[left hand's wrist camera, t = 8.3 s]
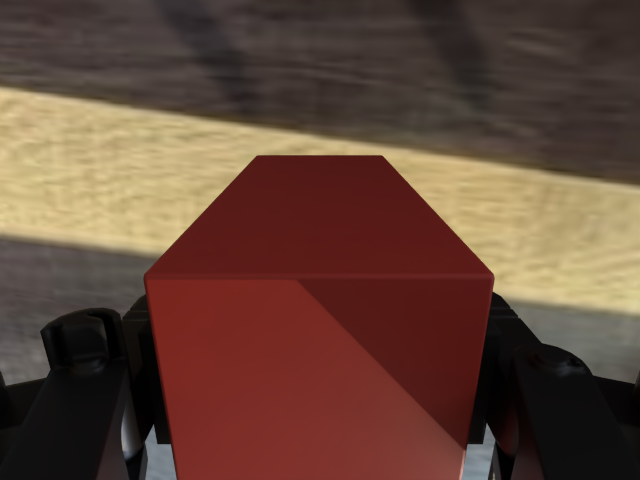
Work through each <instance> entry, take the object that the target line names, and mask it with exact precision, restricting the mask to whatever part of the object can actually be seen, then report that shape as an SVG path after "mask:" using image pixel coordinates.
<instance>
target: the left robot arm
mask: <svg viewBox="0 0 640 480" xmlns="http://www.w3.org/2000/svg"><path fill="white" fill-rule="evenodd" d="M40 332H41V336H42V340H43V343H44V347H45V350H46V354H47V358H48V361H49V365H50V368H51V370H50V372H49V374H48V376H47V377H46V378H43V379H38V380H33V381H28V382H23V383H18V384H13V385H8V386H6V385H5V382H4V379H3V376H2V373H1V372H0V480H145V477H146V469H147V462H148V457H147V450H146V445H145V440H146V438H147V436H148V434H149V432H150V430H151V428H152V426H153V424H154V428H155V433H156V439H157V444H171V441H170V435H169V429H168V423H167V417H166V411H165V405H164V399H163V393H162V387H161V381H160V375H159V369H158V363H157V357H156V351H155V345H154V339H153V333H152V327H151V321H150V315H149V309H148V303H147V297H146V294H145V295H144V296H142V297H140V298H139V299H138V300H137V301H136V302H135V304H134V305H133V306H132V307H131V308H130V311H128V312H127V313H126V314H125V315H124V316H123V319H122V320H121V317H120V314H119V313H118V312H116V311H115V310H112V309H107V308H89V309H84V310H79V311H74V312H72V313H69V314H66V315H63V316H60V317H59V318H57V319H55V320H53V321H52V322H50V323H48V324H47V325H46V326H45V327H44V328H43V329H42V330H41V331H40ZM486 424H488V426H489V428H490V430H491V432H492V434H493V436H494V438H495V445H494V450H493V455H492V460H491V465H490V471H489V476H488V480H494V479H495V480H640V371H639V374H638V377H637V380H636V383H635V384H632V383H627V382H622V381H617V380H612V379H607V378H602V377H597V376H593V375H592V373H591V371H590V369H589V368H588V367H587V366H586V364H585V363H584V362H583V361H582V360H581V359H579V358H578V357H576V356H575V355H573V354H572V353H570V352H568V351H566V350H563V349H561V348H558V347H556V346H551V345H547V344H543V343H541V342H540V341H539V339H538V338H537V337H536V336H535V335H534V334H533V333H532V331H531V330H530V329H529V328H528V327H527V326H526V325H525V323H524V322H523V321H522V320H521V319H520V318H518V315H517V314H516V313H515V312H514V311H513V310H512V309H510V306H509V305H508V304H507V303H506V302H505V300H504V299H503V298H502V297H501V296H499V295H498V294H496V293H494V292H492V298H491V304H490V310H489V316H488V322H487V328H486V334H485V340H484V346H483V352H482V358H481V364H480V370H479V377H478V383H477V389H476V395H475V401H474V407H473V413H472V419H471V425H470V431H469V437H468V443H467V444H483V440H484V435H485V429H486Z"/></svg>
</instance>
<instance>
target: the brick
mask: <svg viewBox="0 0 640 480" xmlns="http://www.w3.org/2000/svg"><path fill="white" fill-rule="evenodd" d="M144 285H145V291H146V297H147V303H148V309H149V315H150V321H151V327H152V333H153V339H154V345H155V351H156V357H157V363H158V369H159V375H160V381H161V387H162V393H163V399H164V405H165V411H166V417H167V423H168V429H169V435H170V441H171V447H172V453H173V459H174V465H175V471H176V477H177V480H462V474H463V468H464V462H465V455H466V449H467V443H468V437H469V431H470V425H471V419H472V413H473V407H474V401H475V395H476V389H477V383H478V377H479V370H480V364H481V358H482V352H483V346H484V340H485V334H486V328H487V322H488V316H489V310H490V304H491V298H492V292H493V286H494V275H493V273H492V272H491V271H490V270H489V269H488V268H487V267H486V266H485V264H484V263H483V262H482V261H481V260H480V259H479V258H478V257H477V256H476V255H475V254H474V253H473V252H472V251H471V250H470V248H469V247H468V246H467V245H466V244H465V243H464V242H463V241H462V240H461V239H460V238H459V237H458V236H457V235H456V234H455V232H454V231H453V230H452V229H451V228H450V227H449V226H448V225H447V224H446V223H445V222H444V221H443V220H442V219H441V218H440V216H439V215H438V214H437V213H436V212H435V211H434V210H433V209H432V208H431V207H430V206H429V205H428V204H427V203H426V202H425V201H424V199H423V198H422V197H421V196H420V195H419V194H418V193H417V192H416V191H415V190H414V189H413V188H412V187H411V186H410V185H409V183H408V182H407V181H406V180H405V179H404V178H403V177H402V176H401V175H400V174H399V173H398V172H397V171H396V170H395V169H394V167H393V166H392V165H391V164H390V163H389V162H388V161H387V160H386V159H385V158H384V157H383V156H381V155H258V156H256V157H255V158H254V159H253V160H252V161H251V162H250V163H249V164H248V166H247V167H246V168H245V169H244V170H243V171H242V172H241V173H240V174H239V175H238V176H237V177H236V178H235V179H234V180H233V181H232V182H231V183H230V184H229V186H228V187H227V188H226V189H225V190H224V191H223V192H222V193H221V194H220V195H219V196H218V197H217V198H216V199H215V200H214V201H213V202H212V203H211V205H210V206H209V207H208V208H207V209H206V210H205V211H204V212H203V213H202V214H201V215H200V216H199V217H198V218H197V219H196V220H195V221H194V222H193V223H192V225H191V226H190V227H189V228H188V229H187V230H186V231H185V232H184V233H183V234H182V235H181V236H180V237H179V238H178V239H177V240H176V241H175V242H174V244H173V245H172V246H171V247H170V248H169V249H168V250H167V251H166V252H165V253H164V254H163V255H162V256H161V257H160V258H159V259H158V260H157V261H156V262H155V264H154V265H153V266H152V267H151V268H150V269H149V270H148V271H147V272H146V273H145V275H144Z"/></svg>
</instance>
